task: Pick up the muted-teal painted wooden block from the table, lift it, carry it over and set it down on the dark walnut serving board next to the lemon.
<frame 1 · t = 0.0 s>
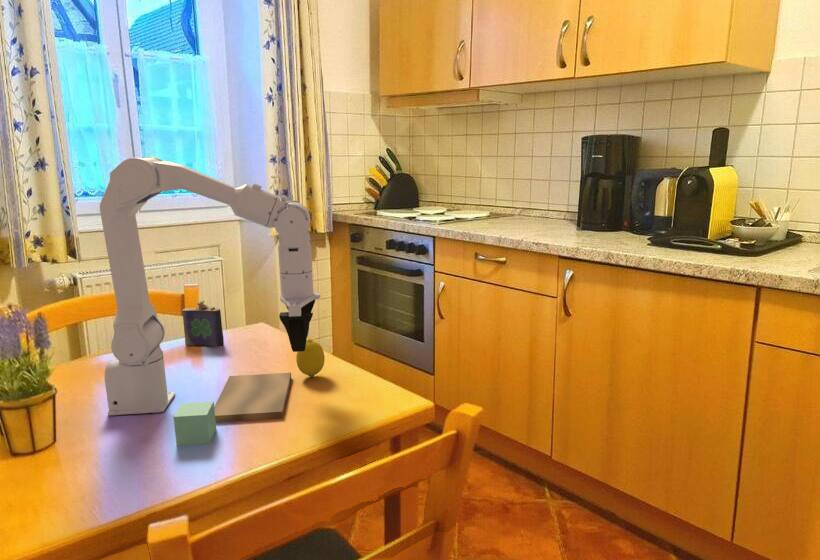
hand: (300, 343, 108), 10 cm above the table, fingers open, 7 cm apart
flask: (205, 346, 140), on the table
lemon: (311, 378, 119), on the table
block: (197, 437, 95), on the table
board: (254, 398, 109), on the table
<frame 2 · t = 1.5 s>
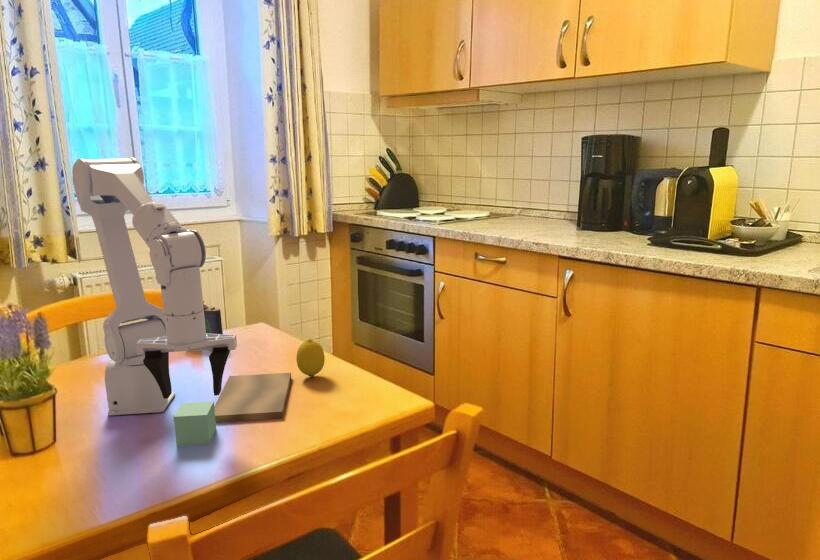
hand: (192, 394, 93), 7 cm above the table, fingers open, 7 cm apart
nothing on the table moved.
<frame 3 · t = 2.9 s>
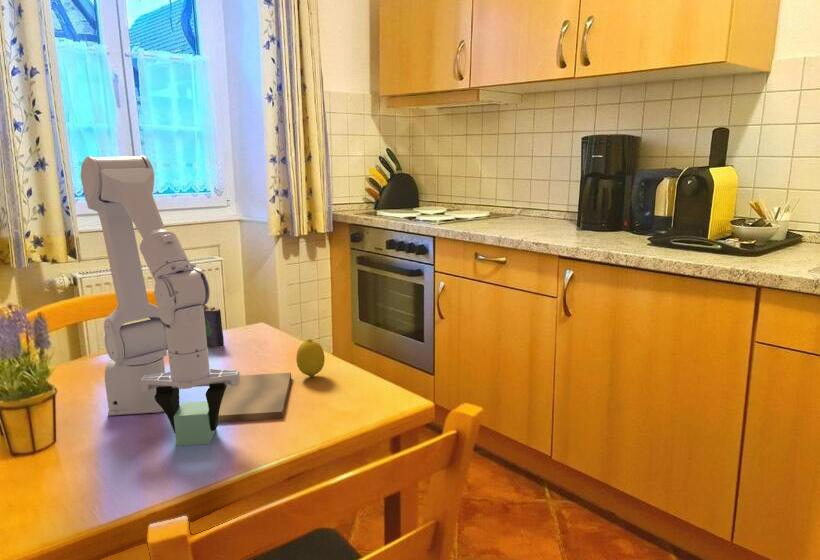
hand: (196, 429, 95), 1 cm above the table, fingers closed on block, 5 cm apart
block: (197, 437, 95), on the table, touching gripper
everything else where it was.
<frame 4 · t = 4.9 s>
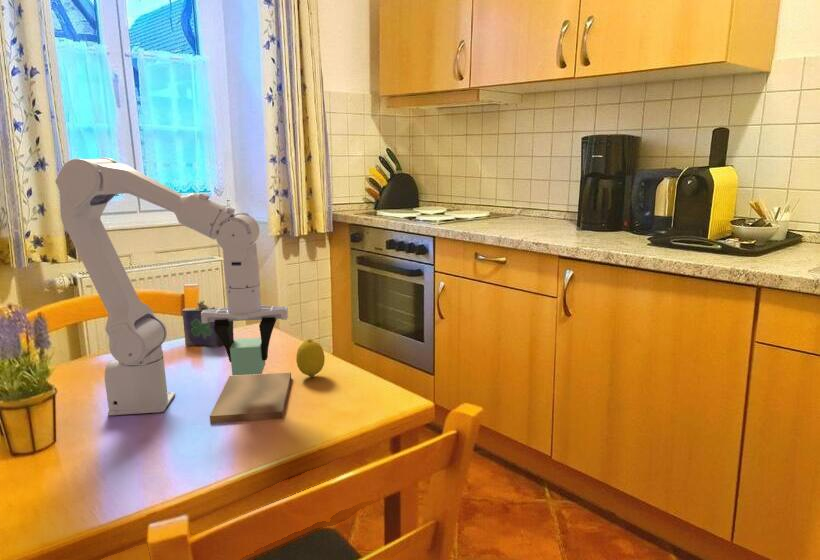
hand: (248, 359, 105), 8 cm above the table, fingers closed on block, 5 cm apart
block: (249, 369, 105), point 7 cm above the table, touching gripper
everything else where it was.
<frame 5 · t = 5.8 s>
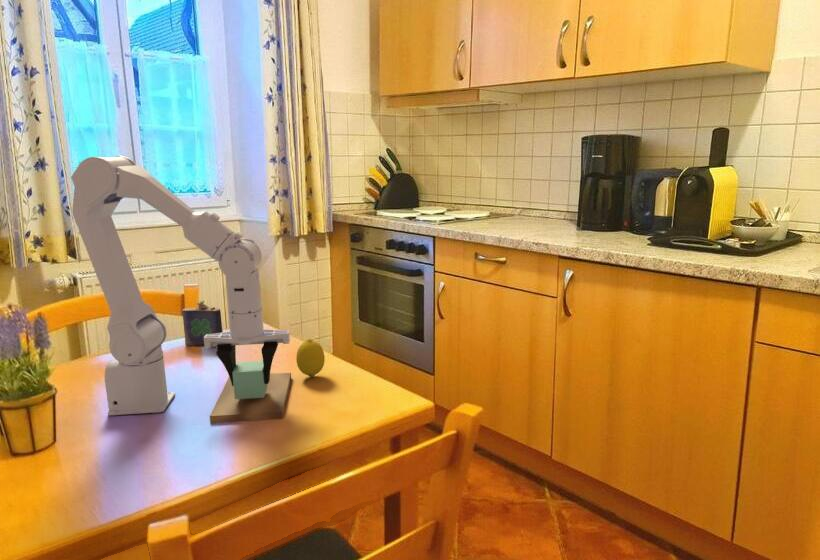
hand: (251, 382, 106), 4 cm above the table, fingers closed on block, 5 cm apart
block: (251, 392, 106), point 2 cm above the table, touching gripper
everything else where it was.
when the fingers open (4 cm above the table, at t = 6.7 s): block stays where it is, resting on board.
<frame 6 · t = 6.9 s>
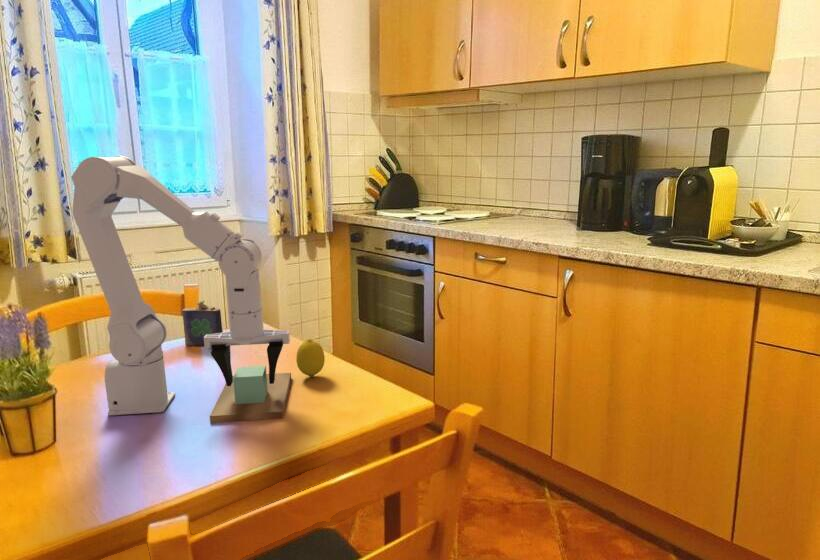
hand: (251, 382, 106), 4 cm above the table, fingers open, 7 cm apart
block: (251, 397, 107), point 1 cm above the table, touching board
everything else where it was.
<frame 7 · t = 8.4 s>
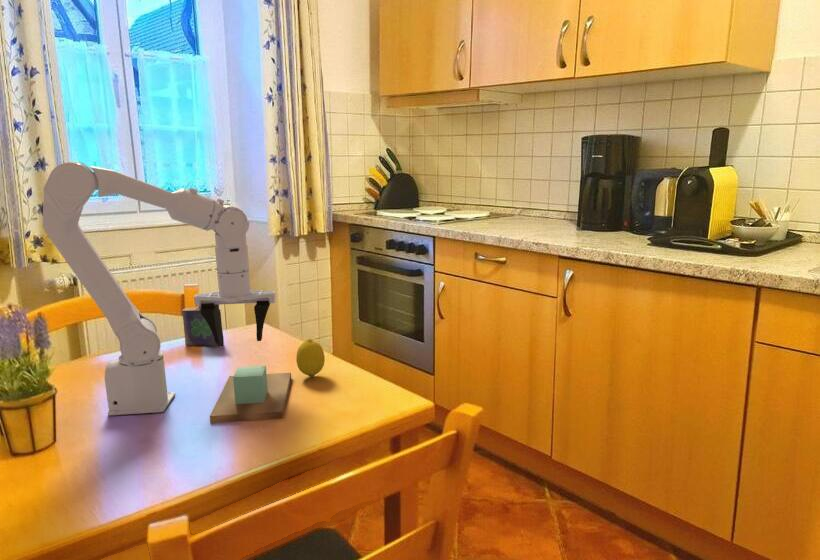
hand: (239, 340, 113), 9 cm above the table, fingers open, 7 cm apart
nothing on the table moved.
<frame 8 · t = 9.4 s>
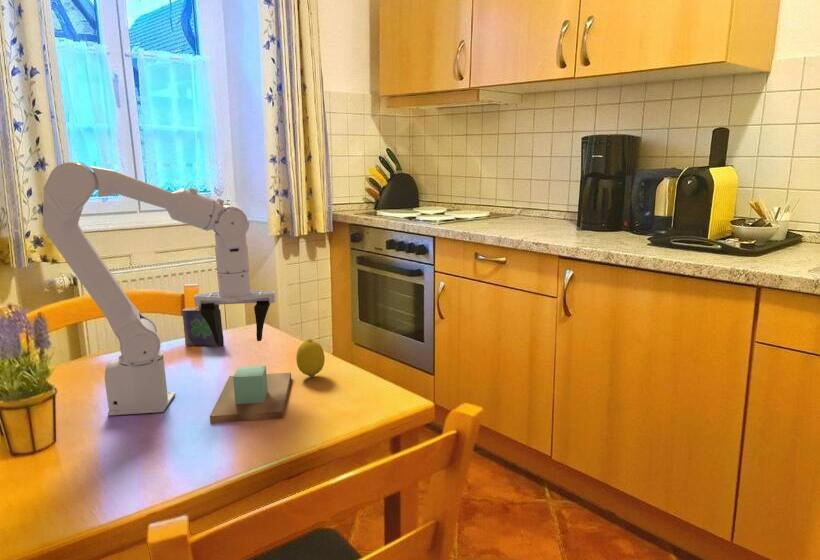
hand: (239, 340, 113), 9 cm above the table, fingers open, 7 cm apart
nothing on the table moved.
at the end: block inside the target area on the board (2.3 cm from its centre), point 1.2 cm above the board's base; the gripper is holding nothing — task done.
